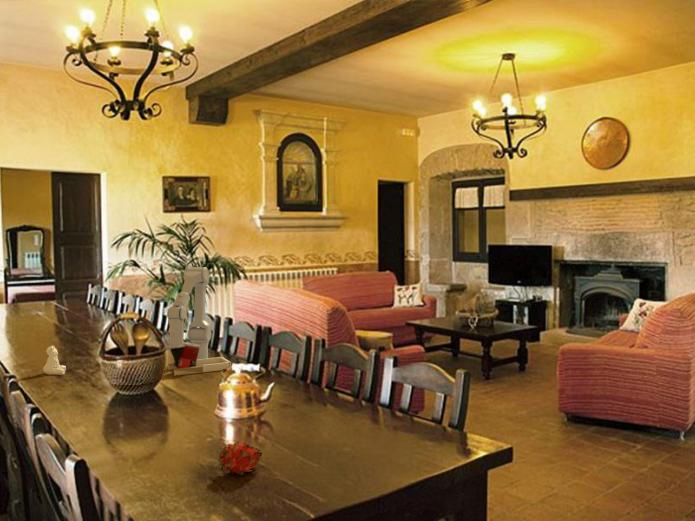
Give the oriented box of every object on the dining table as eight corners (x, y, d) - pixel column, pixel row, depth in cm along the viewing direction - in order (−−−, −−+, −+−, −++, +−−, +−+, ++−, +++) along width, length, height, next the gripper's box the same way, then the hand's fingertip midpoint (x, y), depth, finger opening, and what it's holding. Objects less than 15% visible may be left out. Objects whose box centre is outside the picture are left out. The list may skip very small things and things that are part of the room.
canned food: (192, 372, 256) (198, 346, 257) (173, 368, 256) (179, 342, 257) (195, 369, 264) (201, 345, 265) (177, 366, 264) (183, 341, 264)
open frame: (195, 366, 269) (195, 359, 269) (222, 363, 275) (222, 356, 275) (203, 372, 258) (202, 365, 257) (231, 369, 264) (231, 362, 263)
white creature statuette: (64, 374, 255) (63, 346, 254) (42, 376, 251) (41, 348, 251) (66, 369, 263) (65, 342, 263) (44, 371, 260) (43, 344, 260)
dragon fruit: (214, 483, 149) (258, 479, 155) (227, 472, 143) (272, 468, 150) (210, 449, 153) (253, 446, 160) (222, 437, 148) (266, 435, 154)
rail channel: (167, 369, 263) (167, 363, 263) (195, 366, 269) (195, 360, 269) (174, 375, 252) (174, 369, 252) (203, 372, 258) (202, 366, 257)
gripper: (161, 336, 251) (160, 368, 251) (195, 334, 257) (195, 366, 258) (157, 334, 257) (157, 366, 257) (191, 332, 264) (191, 363, 264)
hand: (176, 365), depth 258 cm, fingers closed, pressing on canned food
